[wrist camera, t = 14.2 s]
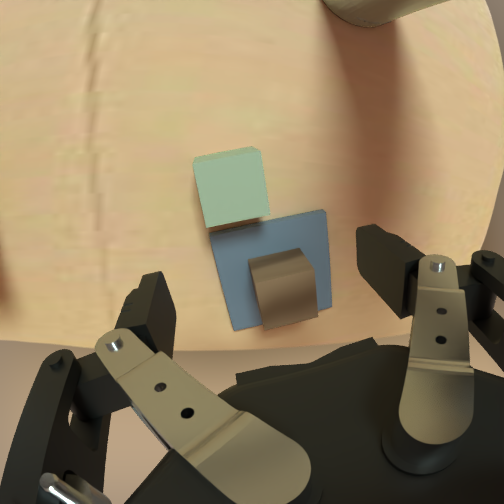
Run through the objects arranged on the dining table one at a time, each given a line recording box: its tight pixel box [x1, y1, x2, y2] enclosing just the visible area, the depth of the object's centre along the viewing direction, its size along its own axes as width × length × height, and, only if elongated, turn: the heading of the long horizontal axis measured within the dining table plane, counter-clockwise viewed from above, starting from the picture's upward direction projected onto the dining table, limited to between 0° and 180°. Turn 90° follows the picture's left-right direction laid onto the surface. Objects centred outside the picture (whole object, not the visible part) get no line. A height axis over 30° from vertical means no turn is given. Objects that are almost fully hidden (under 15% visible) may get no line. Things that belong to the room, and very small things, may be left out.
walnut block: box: [248, 248, 318, 330], centre depth 31 cm, size 6×6×5 cm
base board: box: [209, 209, 332, 331], centre depth 34 cm, size 12×12×1 cm
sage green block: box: [193, 146, 270, 228], centre depth 27 cm, size 6×6×5 cm
